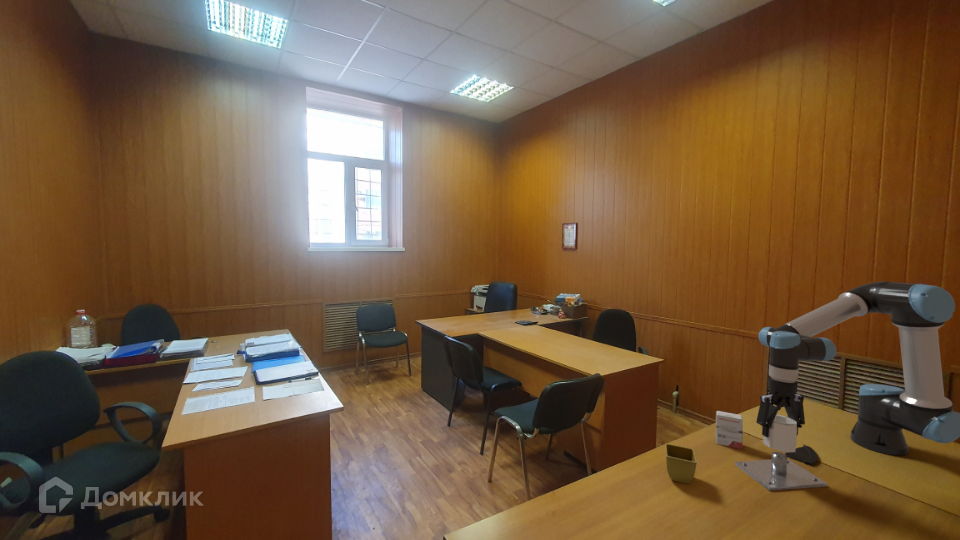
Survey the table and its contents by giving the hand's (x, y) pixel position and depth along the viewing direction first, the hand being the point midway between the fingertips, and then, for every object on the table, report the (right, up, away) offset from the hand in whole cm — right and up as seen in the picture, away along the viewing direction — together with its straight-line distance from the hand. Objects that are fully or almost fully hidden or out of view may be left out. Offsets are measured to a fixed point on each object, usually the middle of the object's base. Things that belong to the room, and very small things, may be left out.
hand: (779, 444), depth 124 cm
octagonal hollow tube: (0, 0, 0) cm, 0 cm away
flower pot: (-34, -11, 0) cm, 36 cm away
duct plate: (0, -11, +1) cm, 11 cm away
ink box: (-3, -9, +20) cm, 23 cm away
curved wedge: (+18, -10, +11) cm, 24 cm away
